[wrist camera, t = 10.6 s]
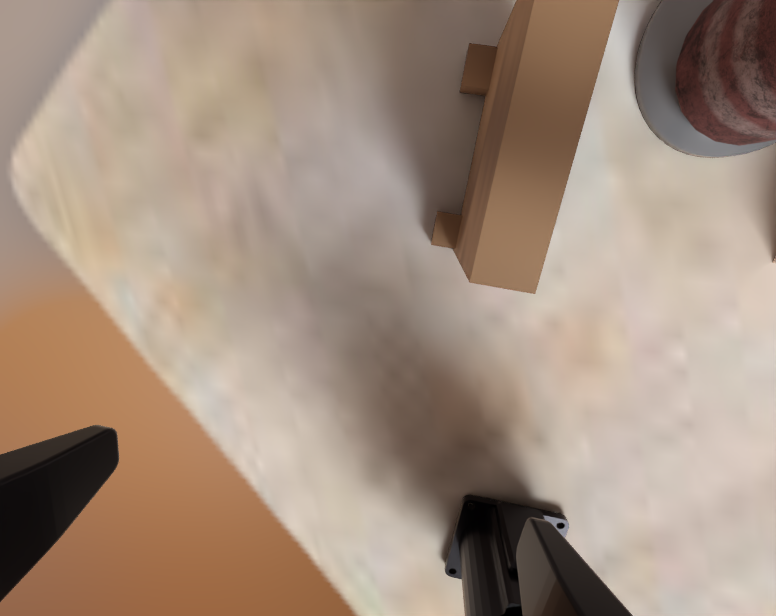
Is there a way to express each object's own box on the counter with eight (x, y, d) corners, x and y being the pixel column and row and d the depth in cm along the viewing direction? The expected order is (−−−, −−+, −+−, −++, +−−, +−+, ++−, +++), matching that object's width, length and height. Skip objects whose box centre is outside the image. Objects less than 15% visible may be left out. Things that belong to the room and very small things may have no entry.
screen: (514, 260, 19) (575, 301, 11) (430, 246, 19) (431, 275, 11) (567, 61, 16) (694, -71, 8) (468, 47, 16) (503, -93, 9)
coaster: (791, 170, 16) (802, 169, 16) (609, 143, 17) (614, 142, 16) (891, -50, 14) (908, -59, 13) (676, -74, 14) (685, -84, 14)
